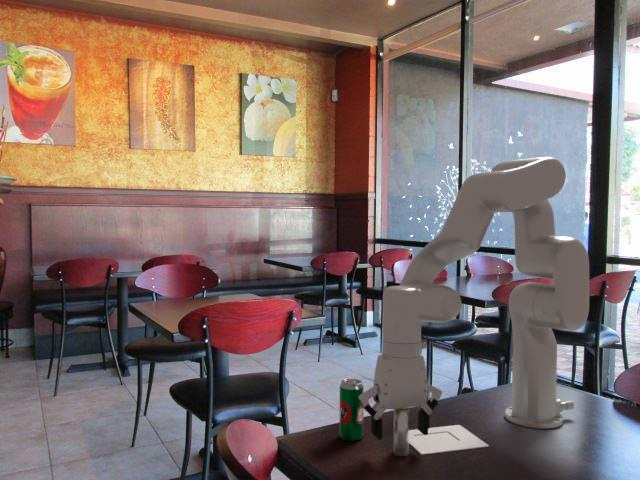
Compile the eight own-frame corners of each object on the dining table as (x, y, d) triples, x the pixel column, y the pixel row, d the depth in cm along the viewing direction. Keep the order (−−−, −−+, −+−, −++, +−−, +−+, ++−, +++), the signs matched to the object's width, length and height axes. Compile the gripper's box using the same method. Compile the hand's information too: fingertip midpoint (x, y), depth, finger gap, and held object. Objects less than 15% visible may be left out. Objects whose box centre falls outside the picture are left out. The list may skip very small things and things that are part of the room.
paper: (459, 425, 125) (459, 424, 125) (489, 446, 114) (489, 445, 114) (397, 432, 122) (397, 431, 122) (421, 454, 110) (421, 453, 110)
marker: (405, 448, 113) (405, 395, 112) (411, 455, 110) (411, 399, 109) (390, 450, 112) (390, 396, 112) (396, 456, 109) (397, 401, 109)
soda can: (361, 443, 116) (361, 385, 115) (337, 441, 117) (337, 384, 116) (364, 433, 121) (364, 378, 120) (341, 432, 122) (341, 377, 121)
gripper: (432, 342, 116) (431, 424, 117) (353, 347, 111) (352, 432, 112) (450, 351, 109) (449, 437, 109) (366, 356, 104) (365, 446, 105)
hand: (400, 434), depth 111 cm, fingers open, 9 cm apart
